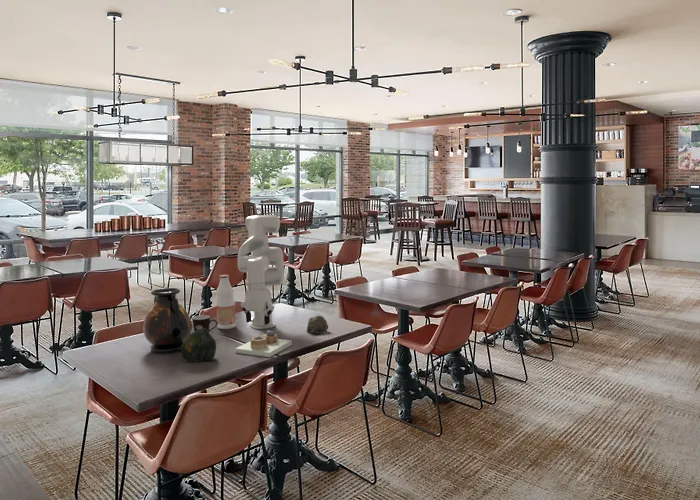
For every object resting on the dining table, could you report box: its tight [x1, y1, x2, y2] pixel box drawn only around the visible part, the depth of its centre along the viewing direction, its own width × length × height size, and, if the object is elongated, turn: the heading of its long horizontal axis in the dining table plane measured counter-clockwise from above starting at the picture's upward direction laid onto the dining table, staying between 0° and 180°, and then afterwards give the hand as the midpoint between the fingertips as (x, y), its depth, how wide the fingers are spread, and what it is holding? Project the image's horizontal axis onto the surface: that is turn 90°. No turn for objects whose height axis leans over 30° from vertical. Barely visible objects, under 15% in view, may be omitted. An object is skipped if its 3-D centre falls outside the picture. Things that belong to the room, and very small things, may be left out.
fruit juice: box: [215, 274, 236, 330], centre depth 298 cm, size 9×9×28 cm
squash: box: [180, 328, 217, 363], centre depth 245 cm, size 14×15×15 cm
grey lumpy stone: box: [306, 315, 329, 335], centre depth 287 cm, size 11×9×10 cm
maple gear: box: [250, 336, 267, 350], centre depth 256 cm, size 7×7×4 cm
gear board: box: [235, 330, 293, 358], centre depth 260 cm, size 18×20×7 cm
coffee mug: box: [191, 314, 218, 333], centre depth 281 cm, size 12×9×10 cm
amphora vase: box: [142, 287, 193, 354], centre depth 261 cm, size 22×22×28 cm
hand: (257, 322), depth 255 cm, fingers open, 9 cm apart
